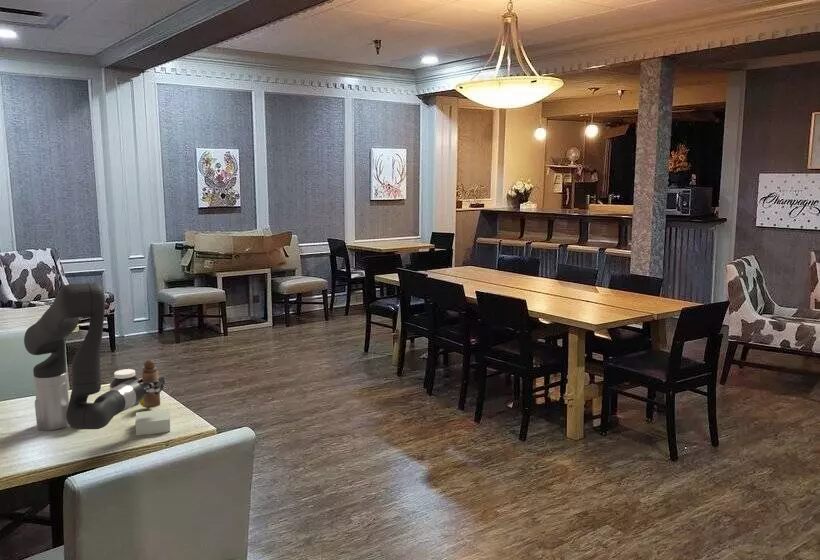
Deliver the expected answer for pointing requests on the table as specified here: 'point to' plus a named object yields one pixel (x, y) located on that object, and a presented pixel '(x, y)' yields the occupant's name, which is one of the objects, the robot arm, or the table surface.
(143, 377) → the pepper mill
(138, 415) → the base block
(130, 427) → the table surface
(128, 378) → the spread jar
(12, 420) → the table surface
